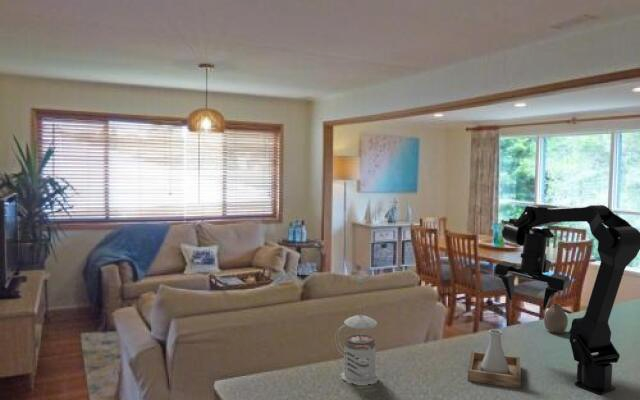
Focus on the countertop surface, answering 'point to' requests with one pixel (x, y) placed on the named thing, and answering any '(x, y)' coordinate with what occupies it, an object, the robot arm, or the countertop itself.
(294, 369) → the countertop surface
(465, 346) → the countertop surface
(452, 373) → the countertop surface
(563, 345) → the countertop surface
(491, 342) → the flask
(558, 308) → the vase
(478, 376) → the wooden tray
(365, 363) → the french press
